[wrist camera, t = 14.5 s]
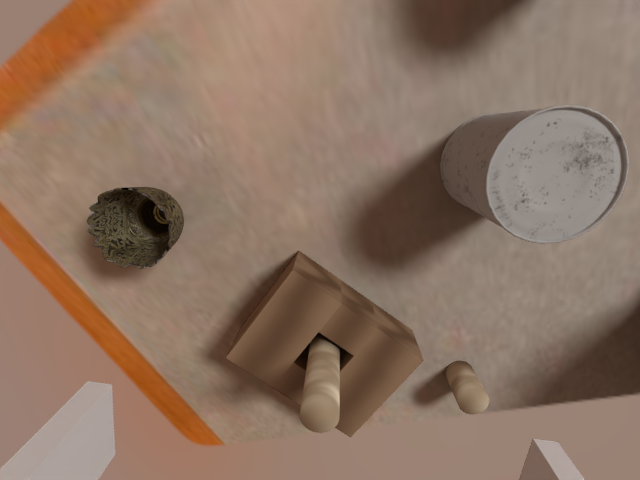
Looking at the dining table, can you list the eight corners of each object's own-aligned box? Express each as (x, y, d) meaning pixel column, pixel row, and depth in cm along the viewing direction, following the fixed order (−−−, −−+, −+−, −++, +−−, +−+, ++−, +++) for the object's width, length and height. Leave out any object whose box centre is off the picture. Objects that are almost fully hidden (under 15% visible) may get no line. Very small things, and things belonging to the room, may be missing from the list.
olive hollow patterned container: (132, 239, 42) (86, 263, 34) (133, 172, 40) (84, 182, 32) (198, 249, 42) (167, 276, 34) (203, 183, 40) (170, 196, 32)
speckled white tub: (528, 211, 39) (610, 246, 27) (435, 208, 39) (476, 241, 28) (545, 114, 36) (645, 106, 25) (445, 112, 37) (496, 103, 25)
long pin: (345, 326, 44) (347, 413, 30) (329, 345, 44) (324, 439, 31) (322, 311, 43) (314, 392, 30) (306, 330, 44) (292, 419, 31)
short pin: (478, 370, 44) (495, 399, 40) (460, 388, 45) (474, 419, 40) (457, 356, 44) (472, 383, 39) (439, 374, 45) (451, 403, 40)
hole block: (412, 330, 43) (423, 360, 38) (348, 399, 46) (350, 437, 41) (298, 250, 41) (292, 270, 36) (240, 328, 44) (225, 358, 39)
